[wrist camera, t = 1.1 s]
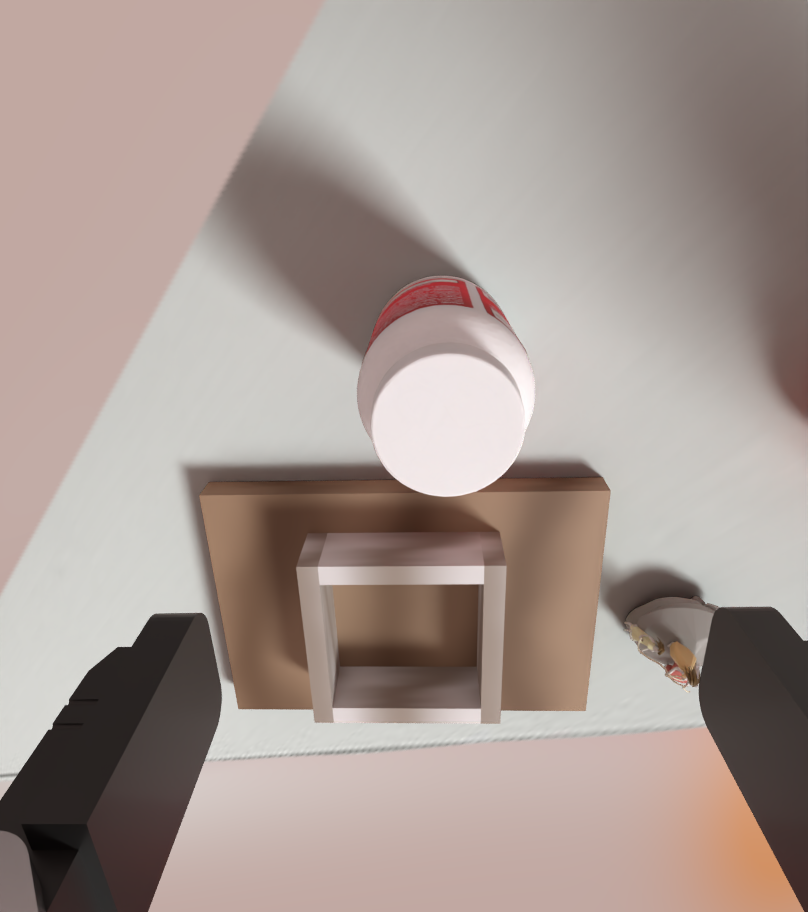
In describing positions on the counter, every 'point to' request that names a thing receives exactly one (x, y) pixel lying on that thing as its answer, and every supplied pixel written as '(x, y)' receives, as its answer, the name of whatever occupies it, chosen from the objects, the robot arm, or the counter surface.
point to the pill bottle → (445, 388)
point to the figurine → (673, 635)
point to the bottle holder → (408, 596)
